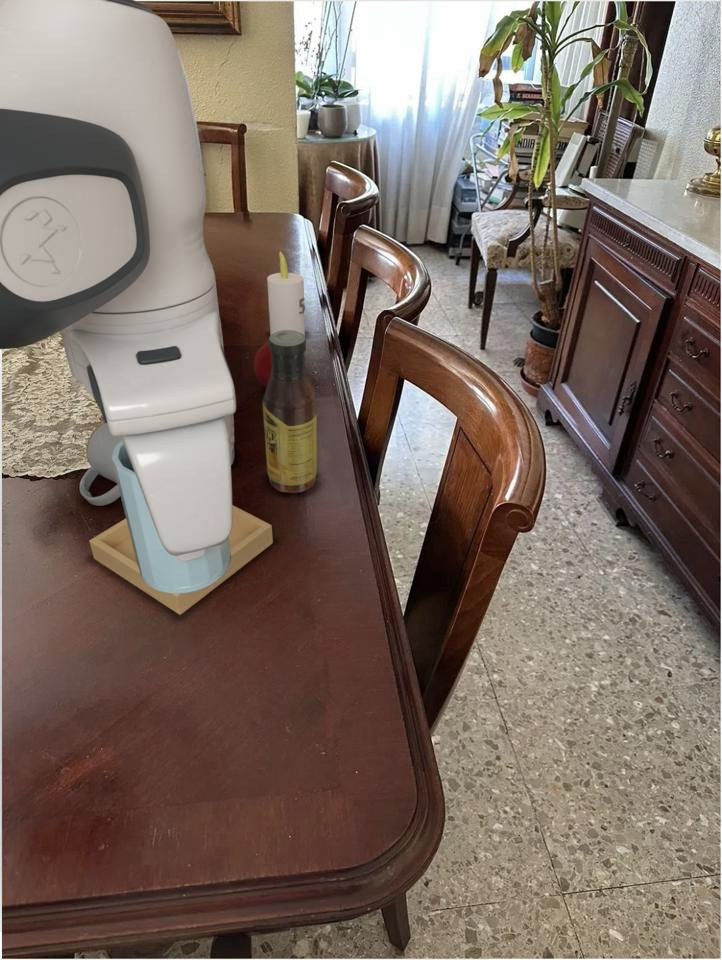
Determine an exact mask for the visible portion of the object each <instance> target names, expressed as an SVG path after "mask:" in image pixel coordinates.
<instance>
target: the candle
mask: <svg viewBox="0 0 722 960" xmlns="http://www.w3.org/2000/svg"><path fill="white" fill-rule="evenodd" d="M278 255H279V269H280V270H279V271H280V272H275V273H272V274H270V275H268V276H267V278H266V280H267V297H268V299H267V301H268V315H269V316H268V318H269V332H270V333H269V334H270V336H271V335H272V334H273V333H275V332H278V331H283V330H293V331H297V332H300V333H302V334H304V336H305V337H306V325H305V310H306V305H305V299H306V298H305V289H304V288H305V287H304V286H305V285H304V284H305V283H304V277H303V275H301V274H299V273H296V272H289V270H288V269H289V268H288V264H287V260H286V257H285V255H284V254H283V252H282V251H279V254H278Z"/></svg>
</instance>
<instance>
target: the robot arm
mask: <svg viewBox="0 0 722 960" xmlns="http://www.w3.org/2000/svg"><path fill="white" fill-rule="evenodd" d="M206 190H207V189H206V182H205V172H204V164H203V157H202V150H201V143H200V135H199V129H198V124H197V117H196V112H195V107H194V103H193V97H192V92H191V88H190V84H189V80H188V76H187V72H186V69H185V65H184V62H183V58H182V56H181V53H180V50H179V47H178V44H177V42H176V39H175V37H174V35H173V33H172V31H171V28H170V26H169V25H168V23H167V22H166V21H165V20H164V19H163V18H162V17H161V16H160V15H158V14H157V13H156V12H154V11H153V10H152V9H151V8H150V7H148V6H147V5H145V4H143V3H141V2H139V1H136V0H0V350H12V349H18V348H23V347H27V346H31V345H33V344H37V343H39V342H41V341H44V340H46V339H48V338H49V337H51V336H53V335H55V334H57V333H59V332H60V333H59V334H60V337H61V340H62V345H63V348H64V352H65V356H66V360H67V363H68V368H69V371H70V374H71V375H72V376H73V377H74V379H75V380H76V381H78V383H80V384H82V385H83V387H84V389H85V390H86V391H87V392H88V394H89V395H90V396H91V397H92V398H93V399H94V401H95V404H96V405H97V407H98V409H99V411H100V413H101V415H102V418H103V421H104V423H107V424H108V428H109V431H110V433H111V434H112V435H113V436H115V437H117V436H120V437H121V439H122V441H123V444H124V446H125V448H126V451H127V453H128V456H129V458H130V461H131V463H132V466H133V469H134V471H135V474H136V477H137V479H138V482H139V485H140V488H141V491H142V493H143V496H144V499H145V502H146V504H147V507H148V510H149V512H150V515H151V518H152V521H153V523H154V526H155V529H156V531H157V534H158V536H159V538H160V541H161V543H162V545H163V547H164V549H165V550H166V551H167V553H168V554H170V555H173V556H177V558H178V560H179V561H182V562H186V561H190V560H194V559H197V558H200V557H202V556H203V555H204V554H205V549H208V548H211V547H215V546H218V545H221V544H223V543H225V542H226V541H227V539H228V538H229V536H230V533H231V530H232V523H233V513H232V505H233V485H232V484H233V483H232V482H233V481H232V465H231V459H230V446H229V438H228V431H227V425H226V421H225V417H224V416H228V415H232V414H233V415H234V414H235V413H236V411H237V397H236V389H235V385H234V380H233V377H232V373H231V369H230V366H229V364H228V361H227V358H226V355H225V349H224V339H223V329H222V322H221V317H220V309H219V308H220V307H219V300H218V291H217V281H216V274H215V269H214V267H213V264H212V263H213V262H212V261H211V259H210V257H209V254H208V251H207V248H206V243H205V241H204V240H205V239H204V218H205V213H206V208H207V191H206Z"/></svg>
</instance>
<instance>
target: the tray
mask: <svg viewBox="0 0 722 960" xmlns="http://www.w3.org/2000/svg"><path fill="white" fill-rule="evenodd" d="M232 513H233V523H232V530H231V533H230V536H229V539H230V552H231V562H230V565H229V567H228V569H227V571H226V572H225V574H224V575H223V576H222V577H221V578H220V579H218V580H217V581H216V582H214V583H213V584H211V585H209V586H208V587H205V588H203V589H200V590H197V591H194V592H189V593H180V594H174V593H165V592H161V591H158V590H156V589H154V588H152V587H150V586H149V585H148V584H146V582H145V581H144V580H143V578H142V577H141V574H140V570H139V568H138V565H137V561H136V557H135V553H134V549H133V545H132V540H131V536H130V532H129V528H128V524H127V520H126V518H124V519H123V520H120V521H119V522H118V523H116V524H114V525H112V526H111V527H109V528H107V529H106V530H104V531H102V532H101V533H99V534H97V535H95V536H94V537H93V538H91V539H89V540H88V542H89V545H90V549H91V552H92V553H91V554H92V556H93V559H94V560H95V561H97V562H98V563H99V564H101V565H102V566H105V568H107V569H108V570H110V571H112V572H113V573H115V574H116V575H118V576H120V577H121V578H123V579H124V580H126V581H128V583H131V584H132V585H133V586H135V587H136V588H138V589H140V590H141V591H143V592H144V593H146V594H147V595H148V596H150V597H152V598H153V599H155V600H156V601H158V602H159V603H161V604H162V605H164V606H165V607H166V608H169V609H170V610H171V611H173V612H175V613H176V614H178V615H179V616H181V615H182V614H184V613H185V612H186V611H188V610H189V609H190V608H191V607H192V606H194V605H195V604H196V603H198V602H199V601H201V600H202V599H203V598H204V597H206V596H207V595H208V594H210V592H211V593H212V591H214V590H215V589H216V588H217V587H218V586H220V585H221V584H222V583H223V582H225V581H226V580H228V579H229V578H230V577H231V576H232V575H234V574H235V573H236V572H238V571H240V570H241V568H243V567H244V566H245V565H246V564H248V563H249V562H251V561H252V560H253V559H255V558H256V557H257V556H258V555H260V554H261V553H262V552H263V551H265V550H266V549H267V548H269V547H270V546H271V545H272V544H273V543H274V539H273V537H274V536H273V525H272V524H270V523H268V522H266V521H264V520H262V519H260V518H259V517H256V516H254V515H252V514H251V513H248V512H247V511H245V510H243V509H242V508H239V507H237V506H236V505H233V504H232Z"/></svg>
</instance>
